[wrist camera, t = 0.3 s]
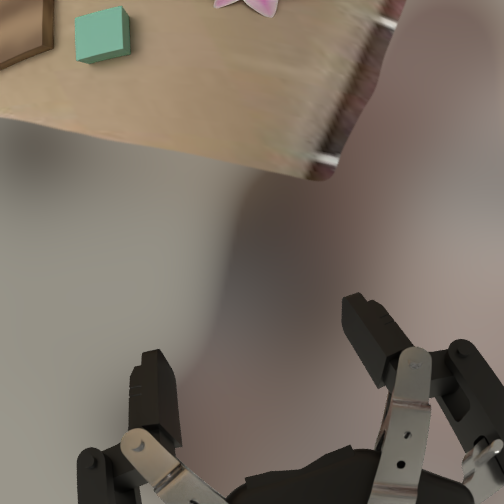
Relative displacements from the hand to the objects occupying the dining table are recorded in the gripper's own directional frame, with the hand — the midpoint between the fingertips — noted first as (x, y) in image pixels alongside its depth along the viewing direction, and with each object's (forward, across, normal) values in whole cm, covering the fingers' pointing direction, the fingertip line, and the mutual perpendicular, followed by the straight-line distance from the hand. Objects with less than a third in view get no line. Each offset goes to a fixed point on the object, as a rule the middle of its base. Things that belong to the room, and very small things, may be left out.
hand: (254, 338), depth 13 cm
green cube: (+28, +7, -18) cm, 34 cm away
